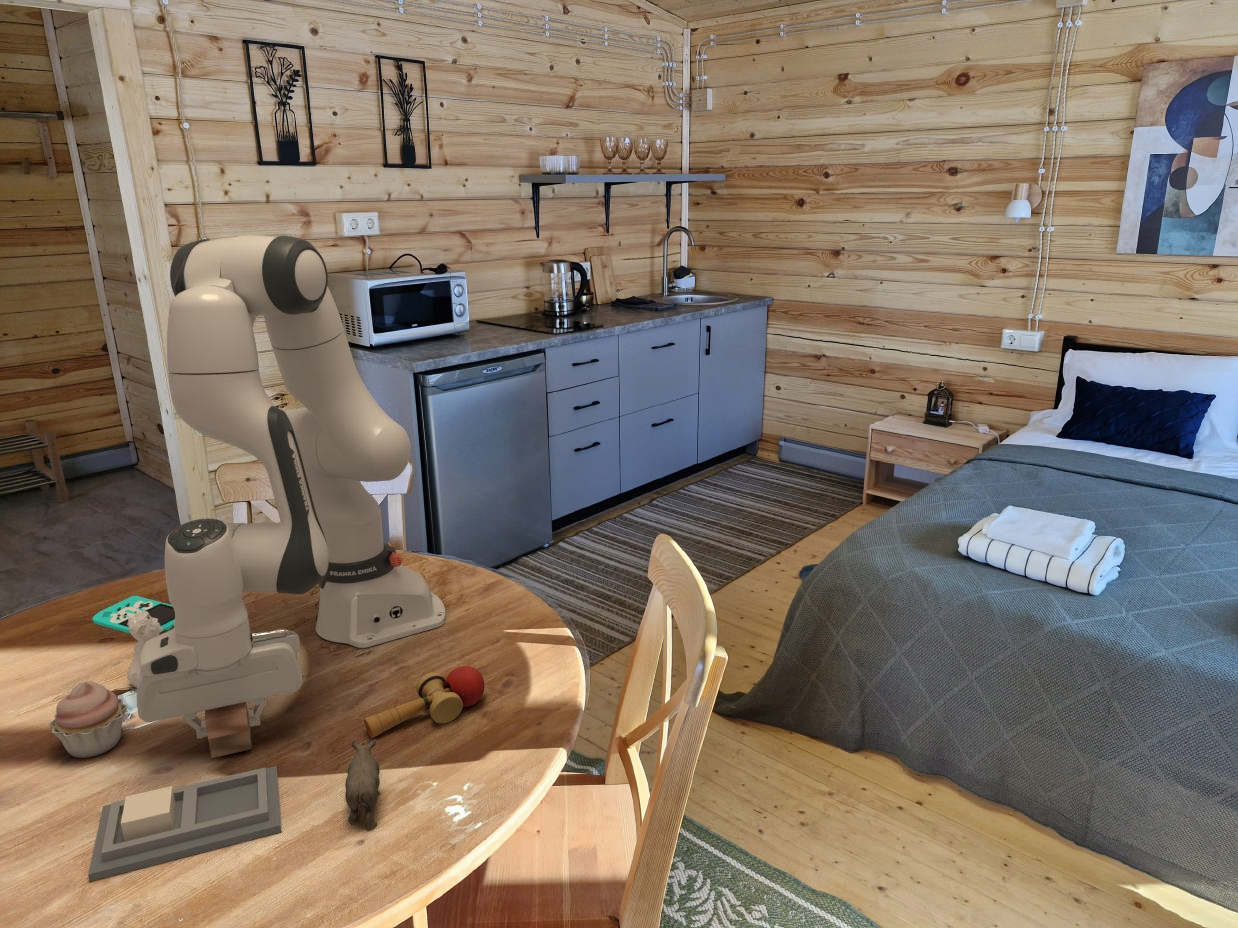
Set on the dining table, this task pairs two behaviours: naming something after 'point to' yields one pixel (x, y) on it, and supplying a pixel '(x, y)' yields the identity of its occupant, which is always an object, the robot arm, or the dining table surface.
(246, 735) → the brown block
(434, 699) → the kendama
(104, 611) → the handheld game console
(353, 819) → the rhino figurine
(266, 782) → the base plate
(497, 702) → the dining table surface
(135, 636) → the sitting furry creature
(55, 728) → the cupcake
